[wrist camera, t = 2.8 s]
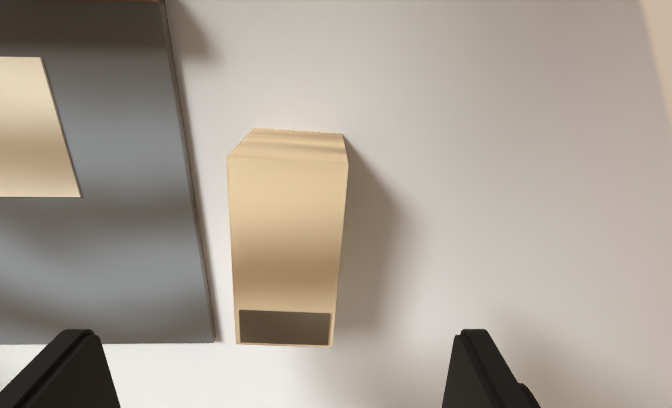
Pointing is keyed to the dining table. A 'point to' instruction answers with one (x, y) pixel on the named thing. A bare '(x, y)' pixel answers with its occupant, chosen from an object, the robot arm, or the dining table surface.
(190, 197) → the corner arena
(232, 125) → the dining table surface
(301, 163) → the maple block
